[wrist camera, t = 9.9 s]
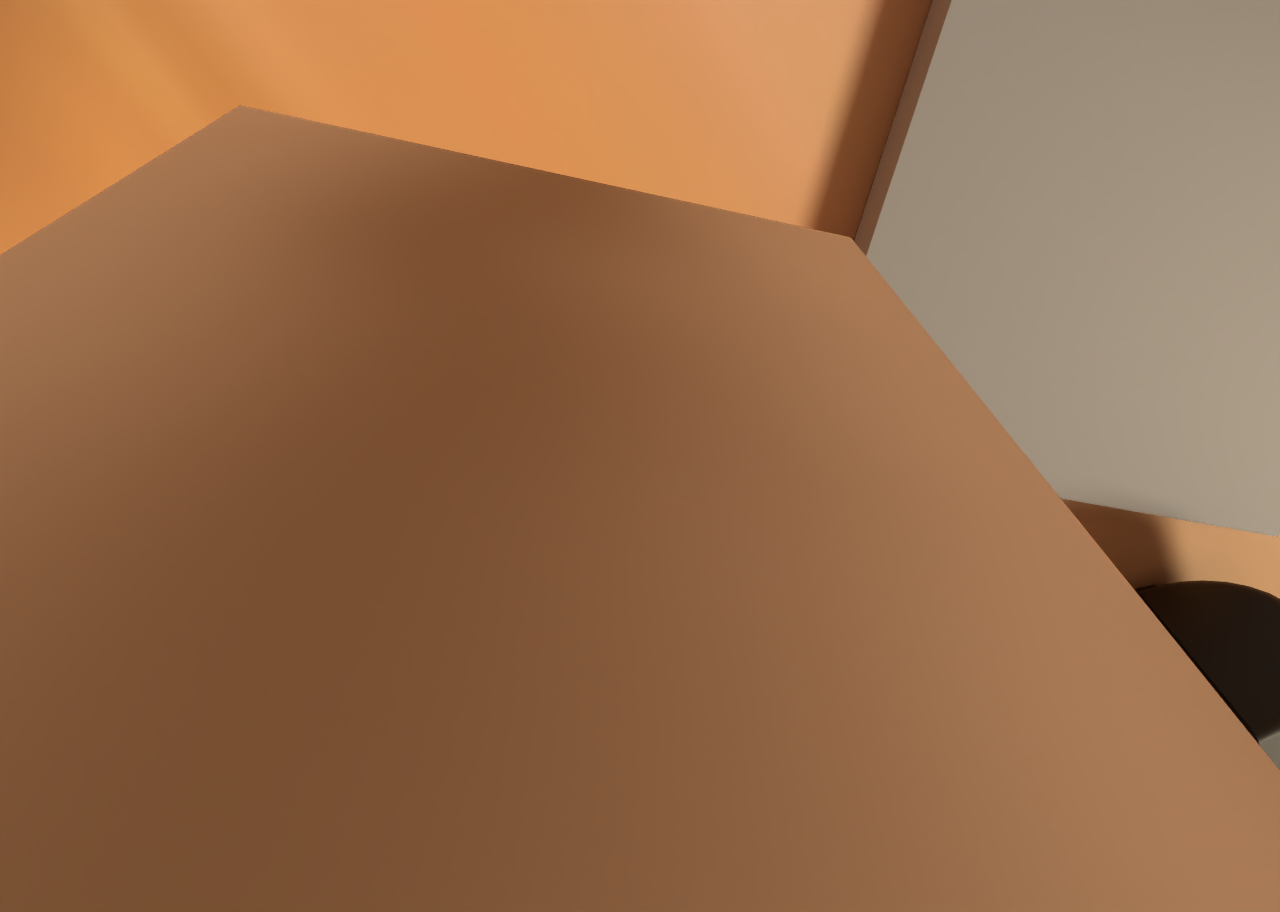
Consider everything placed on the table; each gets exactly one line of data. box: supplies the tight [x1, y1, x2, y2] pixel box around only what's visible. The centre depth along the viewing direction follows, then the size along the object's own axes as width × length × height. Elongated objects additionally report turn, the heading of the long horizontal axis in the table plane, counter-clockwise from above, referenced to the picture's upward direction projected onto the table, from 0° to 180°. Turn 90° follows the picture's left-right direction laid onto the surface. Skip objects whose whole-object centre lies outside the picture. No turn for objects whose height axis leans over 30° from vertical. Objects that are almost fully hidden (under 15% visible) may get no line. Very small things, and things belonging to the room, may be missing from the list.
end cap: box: [1134, 581, 1280, 770], centre depth 31 cm, size 10×7×7 cm
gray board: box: [854, 0, 1280, 537], centre depth 25 cm, size 14×18×1 cm
